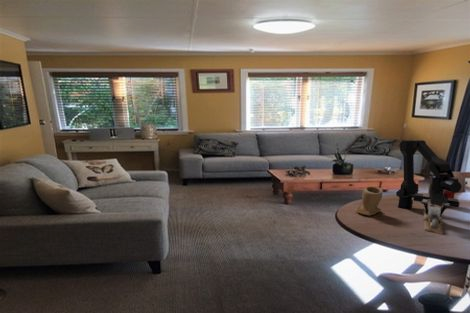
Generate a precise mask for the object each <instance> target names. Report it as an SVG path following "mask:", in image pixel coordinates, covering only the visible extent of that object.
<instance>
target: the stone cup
mask: <svg viewBox="0 0 470 313" xmlns="http://www.w3.org/2000/svg"><path fill="white" fill-rule="evenodd" d="M361 194H362V195H361V196H362V197H361V200H362V205H360V206H358V207H357V208H355V211H356V213H359V214H361V215H365V216H374V215H375V214H377V213H379V212H380V211H382V208H381V207H380V206H379V204H380V202H381V200H382V197H383V191H382V189H381V188H379V187H377V186H373V185H369V186H366V187H365V188H364V189H363V191H362V193H361Z"/></svg>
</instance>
